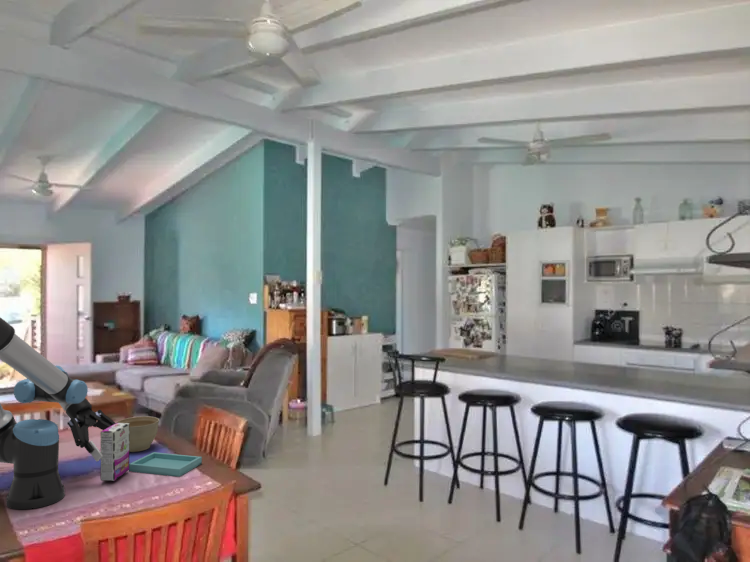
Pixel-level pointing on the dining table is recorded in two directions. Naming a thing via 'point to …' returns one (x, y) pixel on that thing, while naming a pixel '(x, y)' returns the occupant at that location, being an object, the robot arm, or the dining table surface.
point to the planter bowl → (141, 432)
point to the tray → (165, 464)
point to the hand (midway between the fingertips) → (113, 453)
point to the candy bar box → (114, 451)
